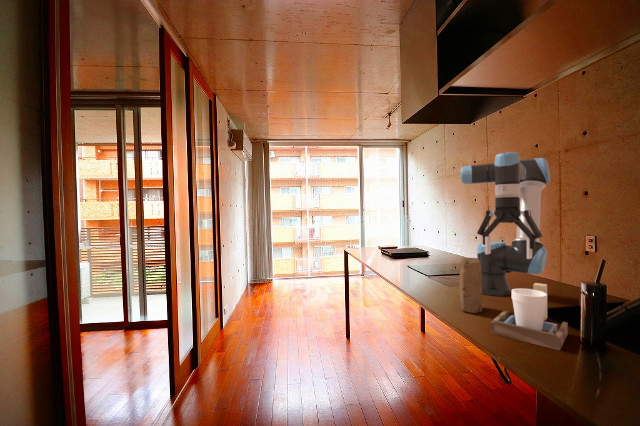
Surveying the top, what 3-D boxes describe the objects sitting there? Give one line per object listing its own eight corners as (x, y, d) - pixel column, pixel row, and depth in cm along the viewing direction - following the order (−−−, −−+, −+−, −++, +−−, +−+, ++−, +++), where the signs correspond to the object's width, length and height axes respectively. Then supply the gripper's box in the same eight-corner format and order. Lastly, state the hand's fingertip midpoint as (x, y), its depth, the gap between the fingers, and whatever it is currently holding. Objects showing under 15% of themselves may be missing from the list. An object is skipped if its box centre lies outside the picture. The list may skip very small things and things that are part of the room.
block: (483, 315, 114) (482, 261, 114) (460, 313, 117) (460, 260, 117) (479, 306, 124) (478, 256, 124) (459, 304, 127) (458, 256, 127)
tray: (520, 312, 116) (520, 280, 115) (563, 321, 107) (563, 286, 106) (500, 332, 98) (500, 295, 98) (549, 345, 89) (549, 303, 89)
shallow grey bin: (504, 319, 109) (504, 308, 109) (567, 333, 97) (567, 321, 97) (490, 332, 98) (490, 320, 98) (559, 350, 86) (559, 336, 86)
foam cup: (548, 342, 91) (548, 298, 91) (511, 335, 96) (511, 294, 96) (545, 330, 99) (545, 290, 99) (511, 325, 104) (511, 287, 104)
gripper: (467, 197, 117) (468, 253, 118) (545, 195, 98) (545, 261, 98) (477, 197, 122) (477, 251, 123) (553, 195, 102) (553, 259, 103)
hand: (507, 256), depth 110 cm, fingers open, 13 cm apart
